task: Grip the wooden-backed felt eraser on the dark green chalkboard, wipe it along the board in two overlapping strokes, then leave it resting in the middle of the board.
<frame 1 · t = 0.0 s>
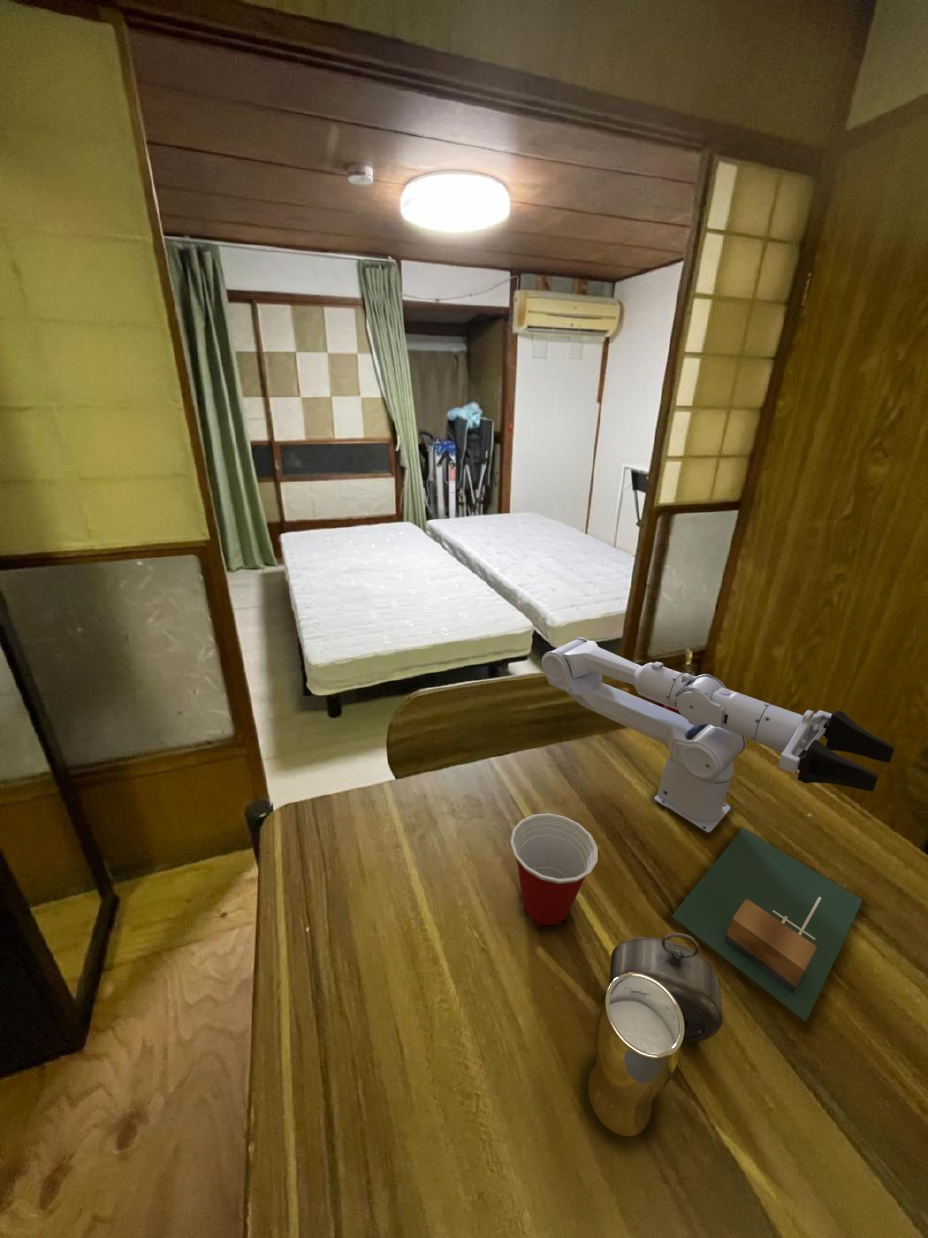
hand: (884, 769, 62), 22 cm above the table, tool horizontal, fingers open, 7 cm apart
beer glass: (618, 1097, 51), on the table
eraser: (763, 954, 63), point 1 cm above the table, touching chalkboard
chalkboard: (767, 911, 69), on the table
plastic cup: (545, 906, 69), on the table
alarm clock: (652, 1027, 56), on the table
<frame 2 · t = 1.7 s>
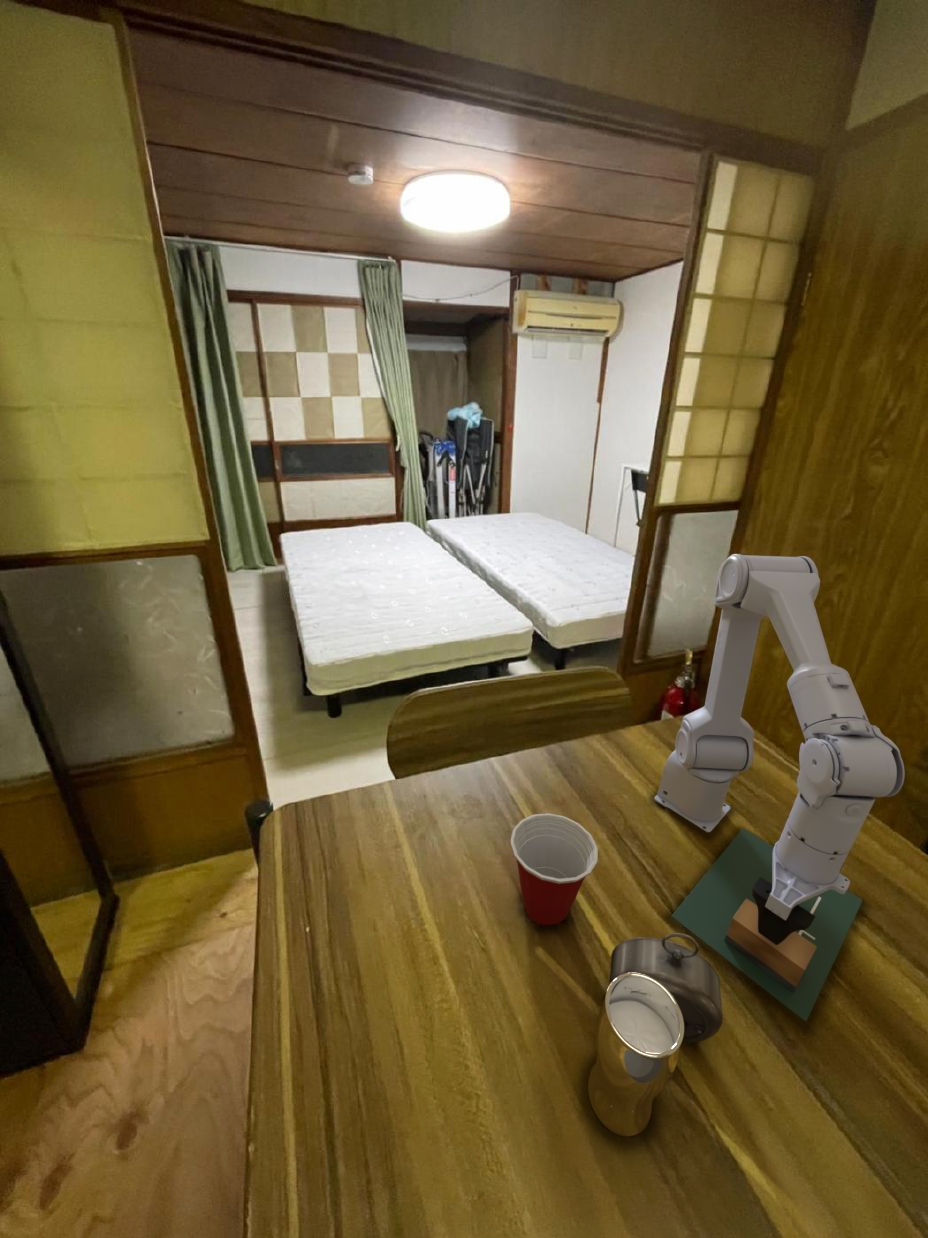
hand: (781, 915, 60), 8 cm above the table, tool pointing down, fingers open, 7 cm apart
nothing on the table moved.
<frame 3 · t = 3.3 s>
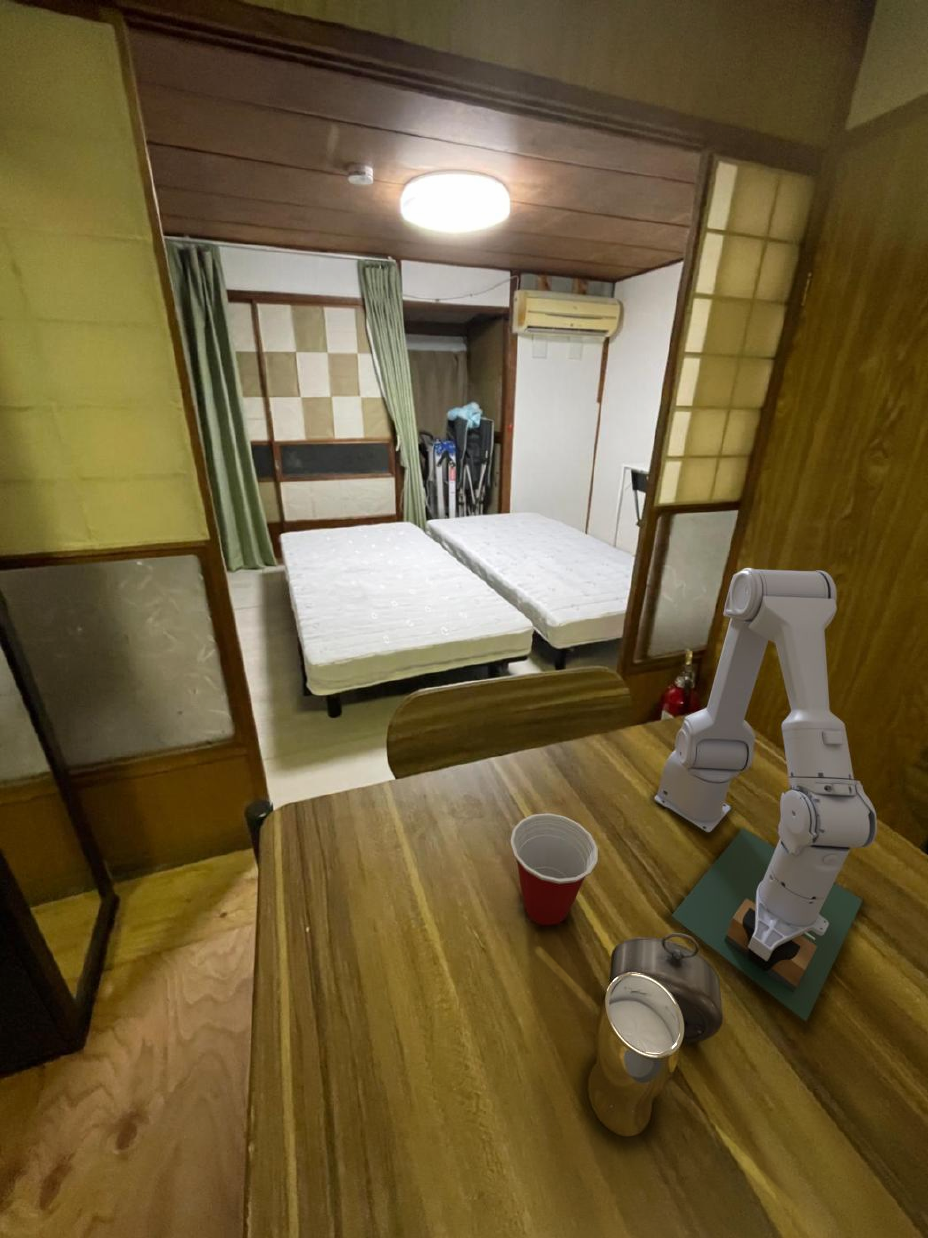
hand: (765, 951, 63), 1 cm above the table, tool pointing down, fingers closed on eraser, 4 cm apart
eraser: (763, 954, 63), point 1 cm above the table, touching chalkboard, gripper
everything else where it was.
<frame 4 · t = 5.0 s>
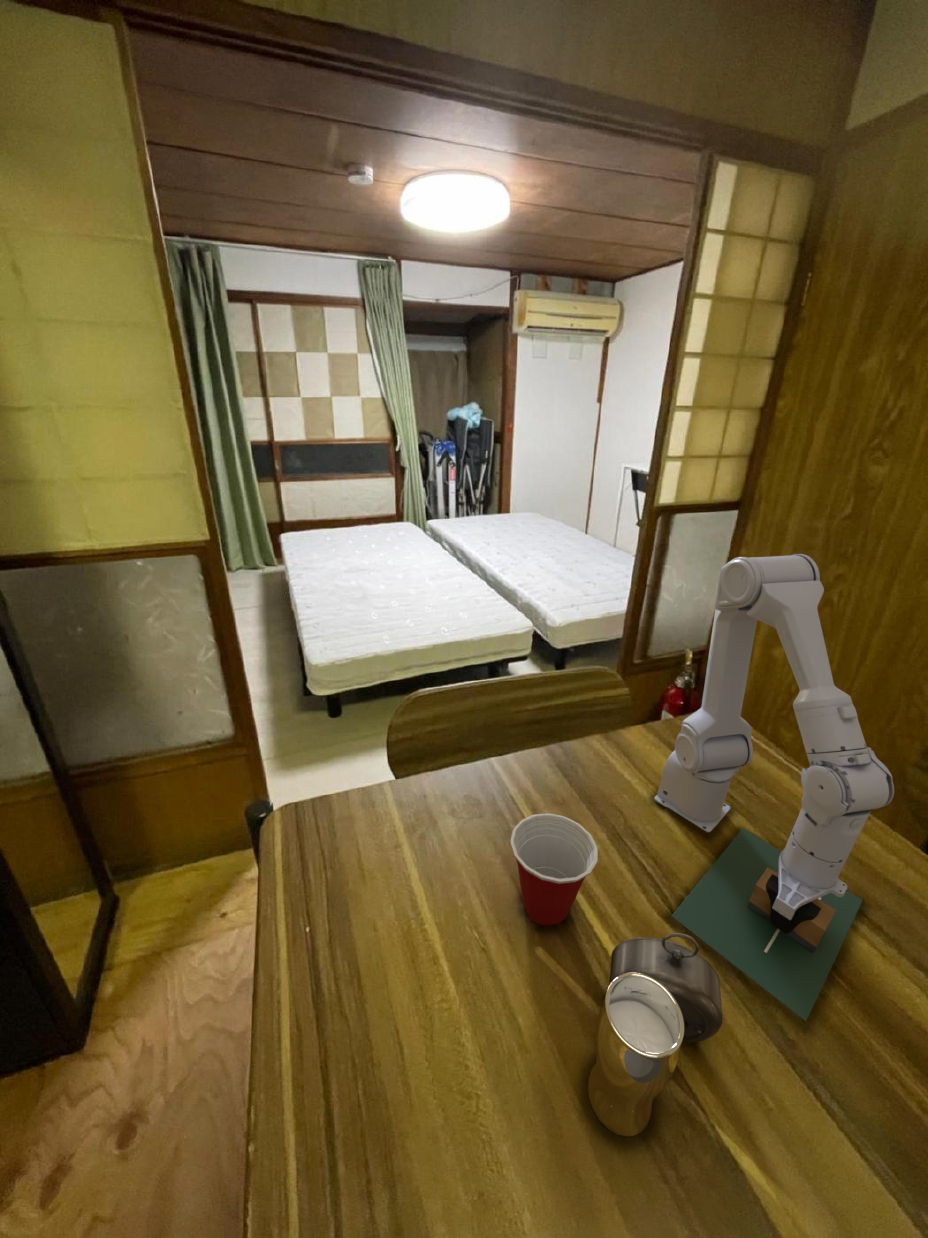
hand: (786, 915, 67), 1 cm above the table, tool pointing down, fingers closed on eraser, 4 cm apart
eraser: (784, 919, 67), point 1 cm above the table, touching chalkboard, gripper
everything else where it was.
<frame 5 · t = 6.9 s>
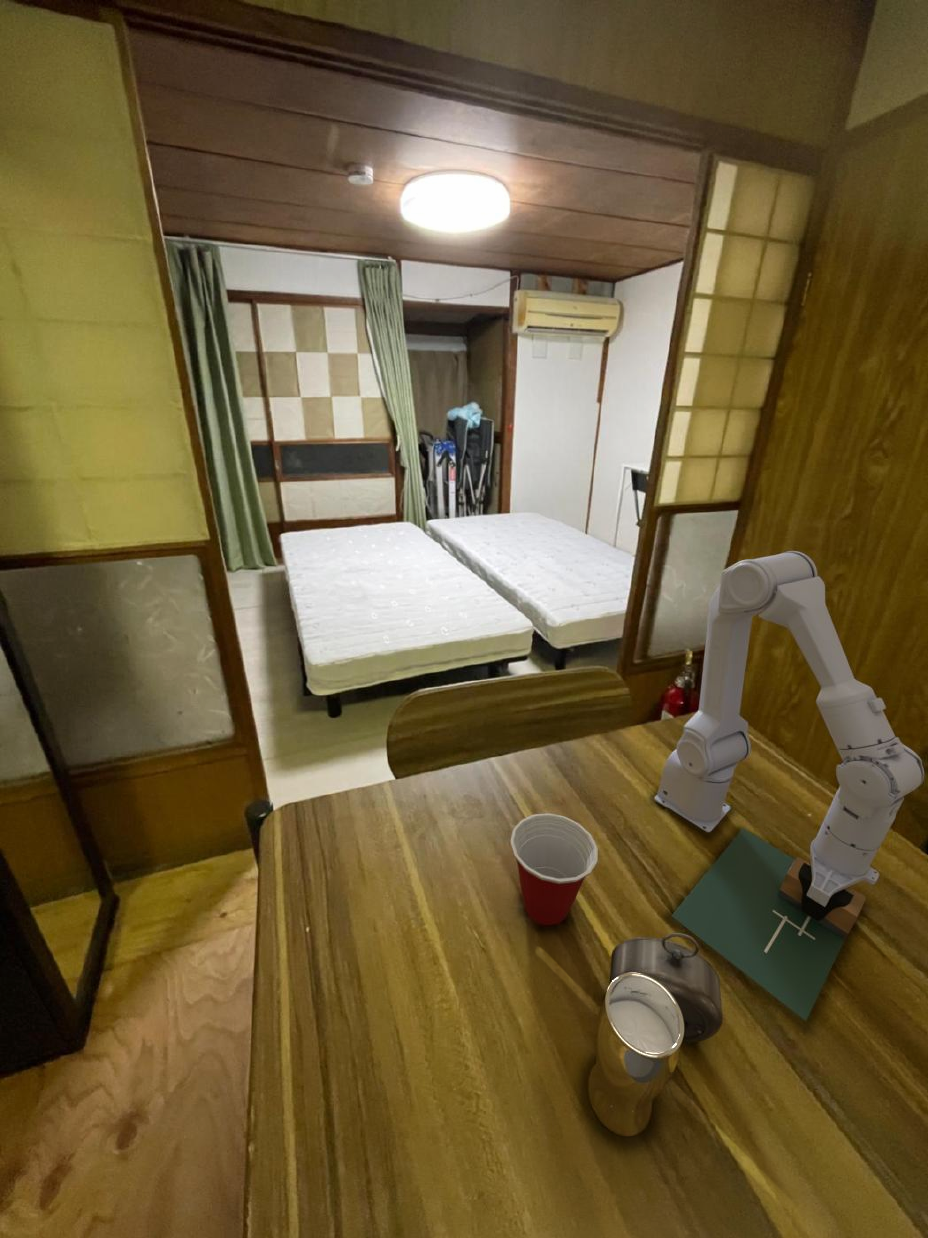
hand: (816, 903, 68), 1 cm above the table, tool pointing down, fingers closed on eraser, 4 cm apart
eraser: (814, 907, 69), point 1 cm above the table, touching gripper
everything else where it was.
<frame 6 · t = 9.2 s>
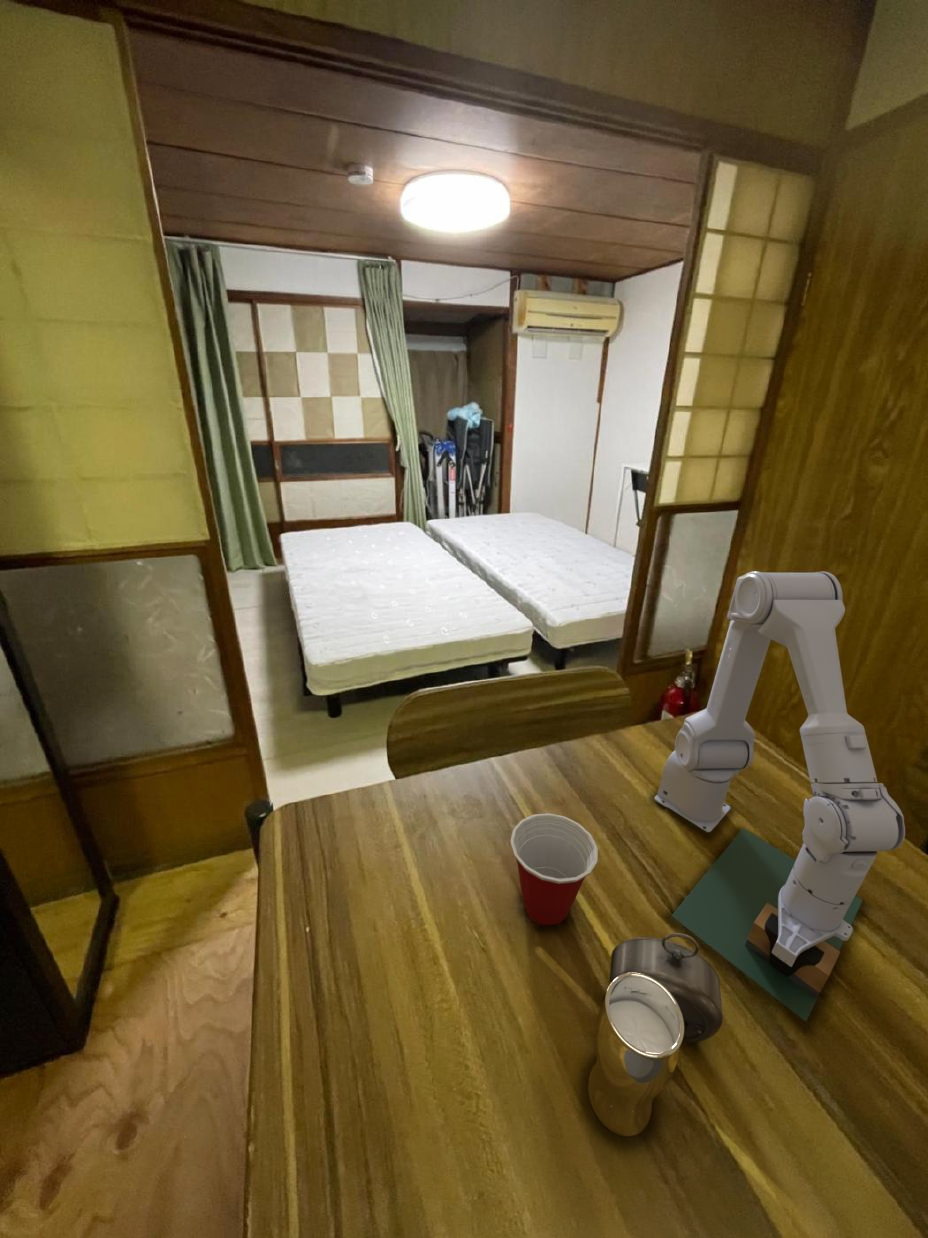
hand: (786, 956, 62), 1 cm above the table, tool pointing down, fingers closed on eraser, 4 cm apart
eraser: (785, 959, 62), point 1 cm above the table, touching chalkboard, gripper
everything else where it was.
when the fingers open (1 cm above the table, at t = 11.0 s): eraser stays where it is, resting on chalkboard.
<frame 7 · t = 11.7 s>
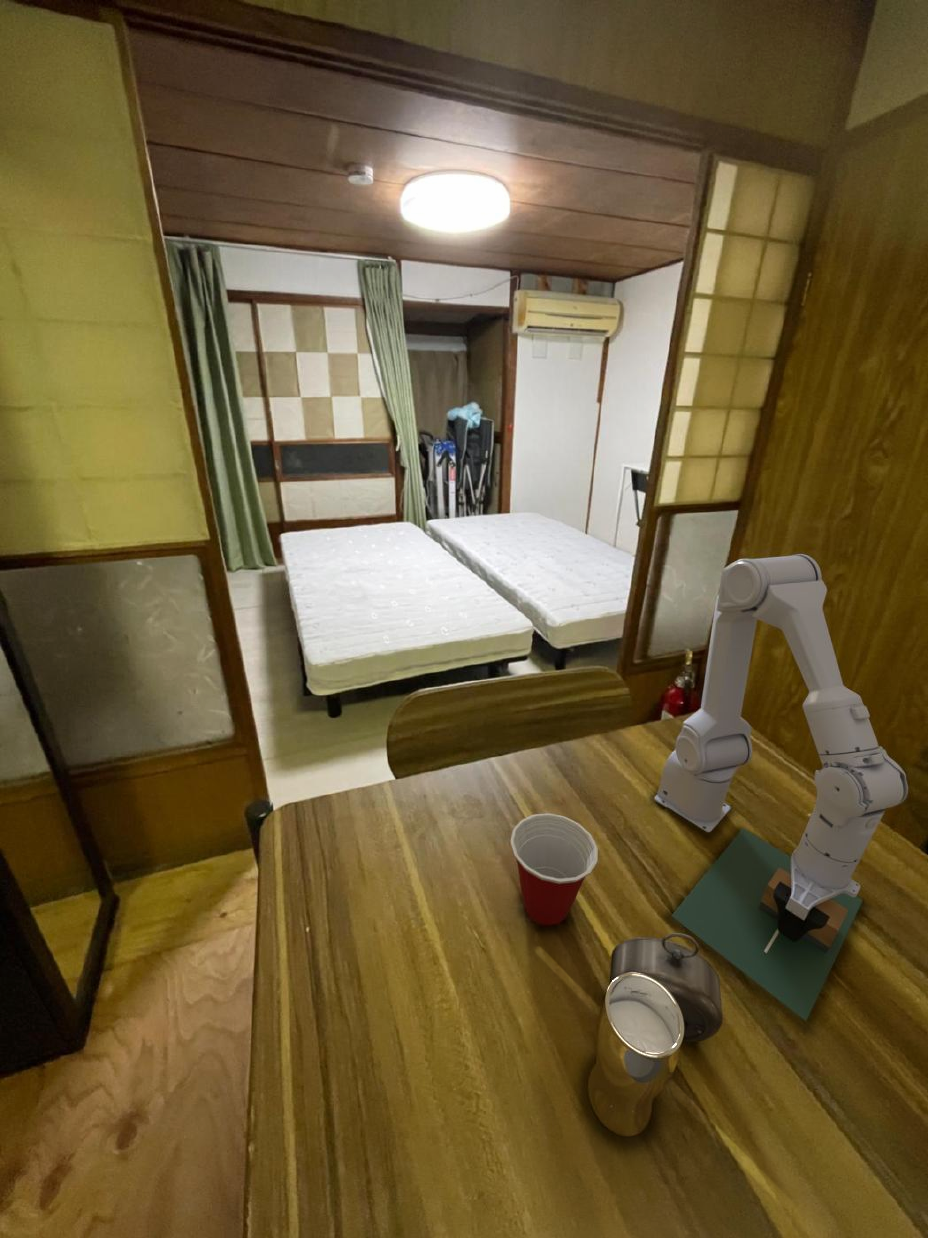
hand: (798, 915, 67), 1 cm above the table, tool pointing down, fingers open, 7 cm apart
eraser: (796, 919, 67), point 1 cm above the table, touching chalkboard
everything else where it was.
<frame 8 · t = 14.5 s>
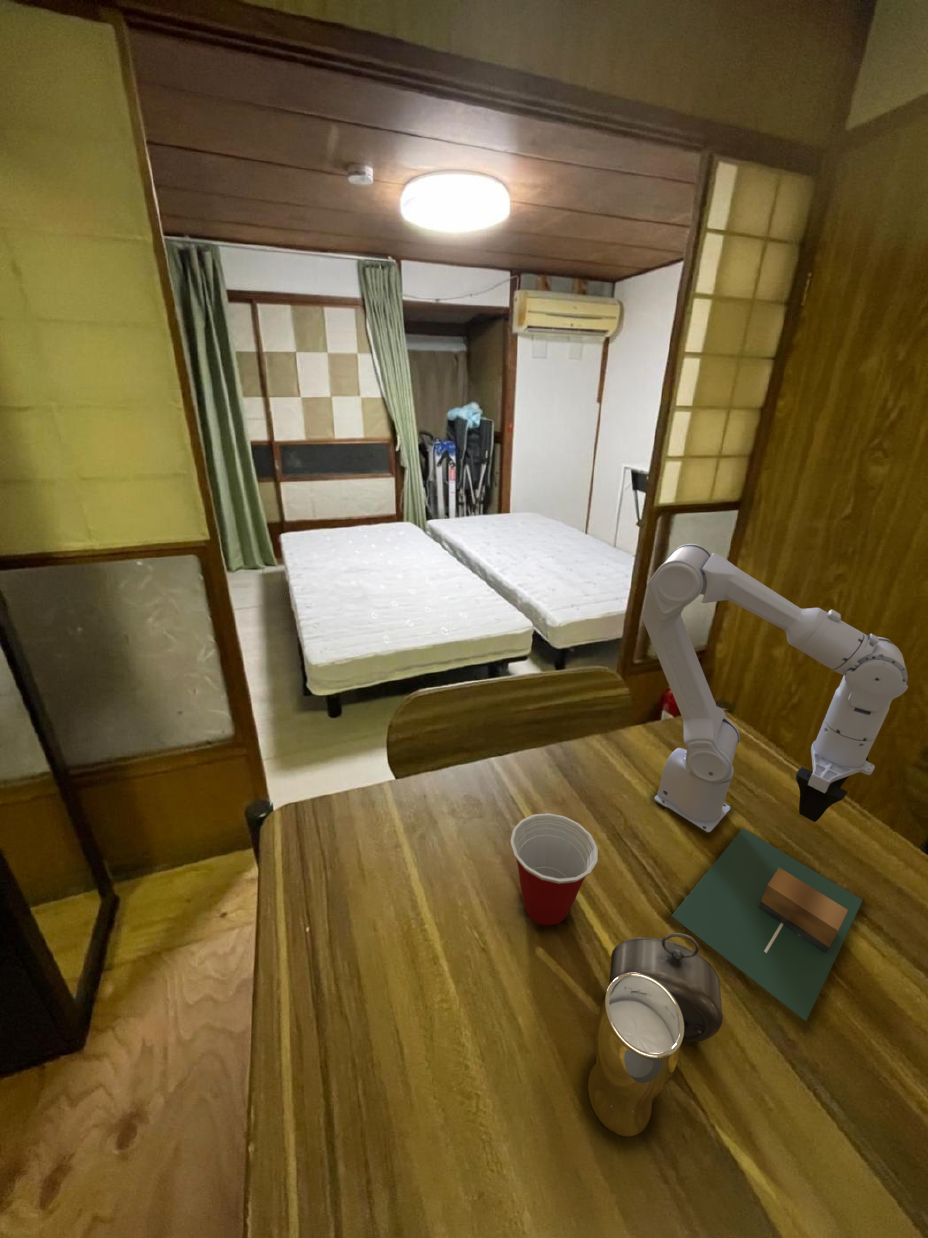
hand: (817, 803, 74), 9 cm above the table, tool pointing down, fingers open, 7 cm apart
nothing on the table moved.
at the end: eraser inside the target area (0.0 cm from its centre), point 0.6 cm above the table; eraser tilted 0°; the gripper is holding nothing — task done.
